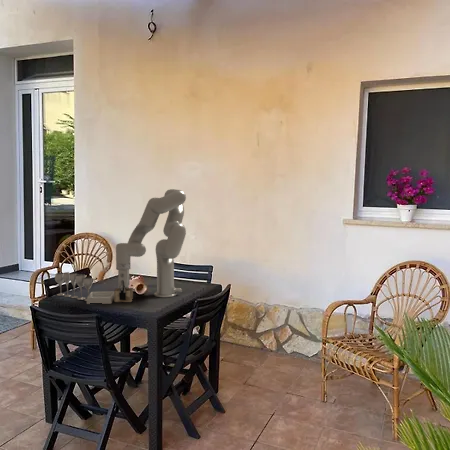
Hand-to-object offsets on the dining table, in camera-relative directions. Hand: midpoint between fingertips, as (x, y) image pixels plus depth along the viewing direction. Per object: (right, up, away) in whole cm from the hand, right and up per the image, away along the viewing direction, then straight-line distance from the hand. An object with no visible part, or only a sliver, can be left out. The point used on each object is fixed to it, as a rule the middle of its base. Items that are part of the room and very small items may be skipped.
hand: (123, 297), depth 246 cm
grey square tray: (-12, -2, -1) cm, 12 cm away
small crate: (0, -2, 0) cm, 2 cm away
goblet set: (-28, -1, +4) cm, 28 cm away
